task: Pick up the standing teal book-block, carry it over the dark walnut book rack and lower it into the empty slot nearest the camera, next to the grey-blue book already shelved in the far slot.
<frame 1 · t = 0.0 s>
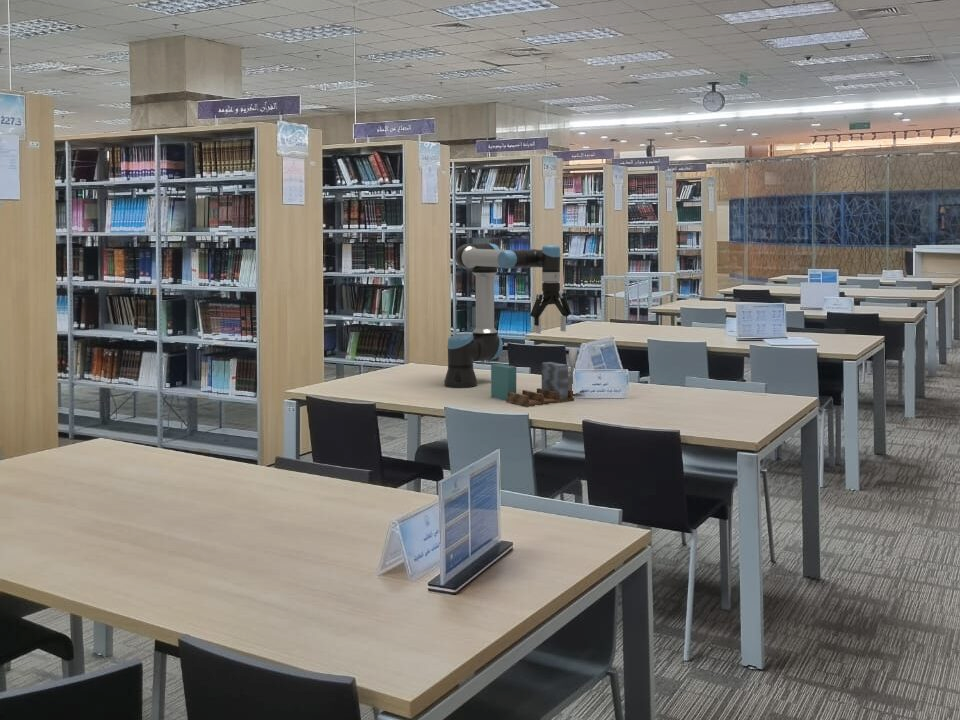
hand: (550, 332, 416), 28 cm above the table, fingers open, 13 cm apart
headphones: (573, 393, 429), on the table
book block: (503, 398, 418), on the table
rack: (540, 401, 410), on the table
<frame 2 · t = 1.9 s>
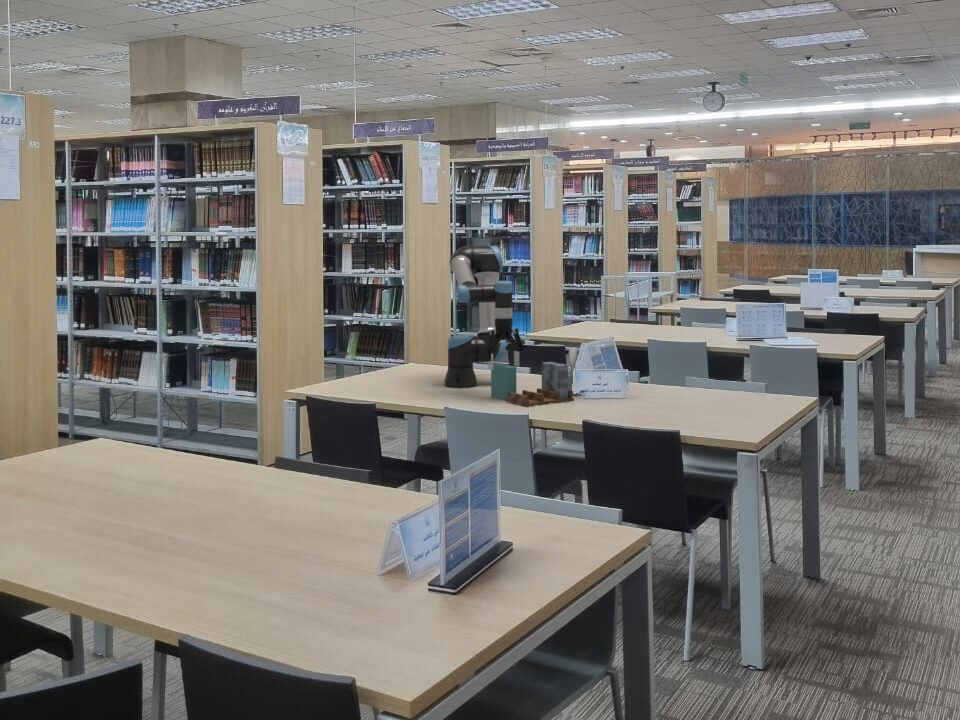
hand: (503, 367, 416), 13 cm above the table, fingers open, 13 cm apart
nothing on the table moved.
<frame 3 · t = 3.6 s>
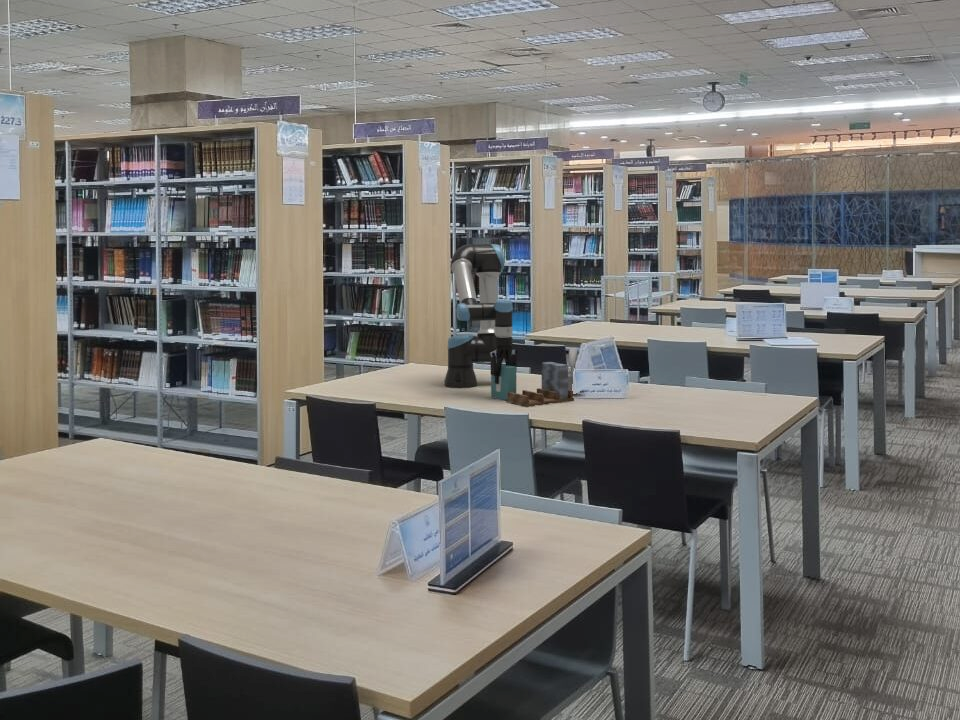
hand: (503, 390, 417), 3 cm above the table, fingers closed on book block, 4 cm apart
book block: (503, 398, 418), on the table, touching gripper
everything else where it was.
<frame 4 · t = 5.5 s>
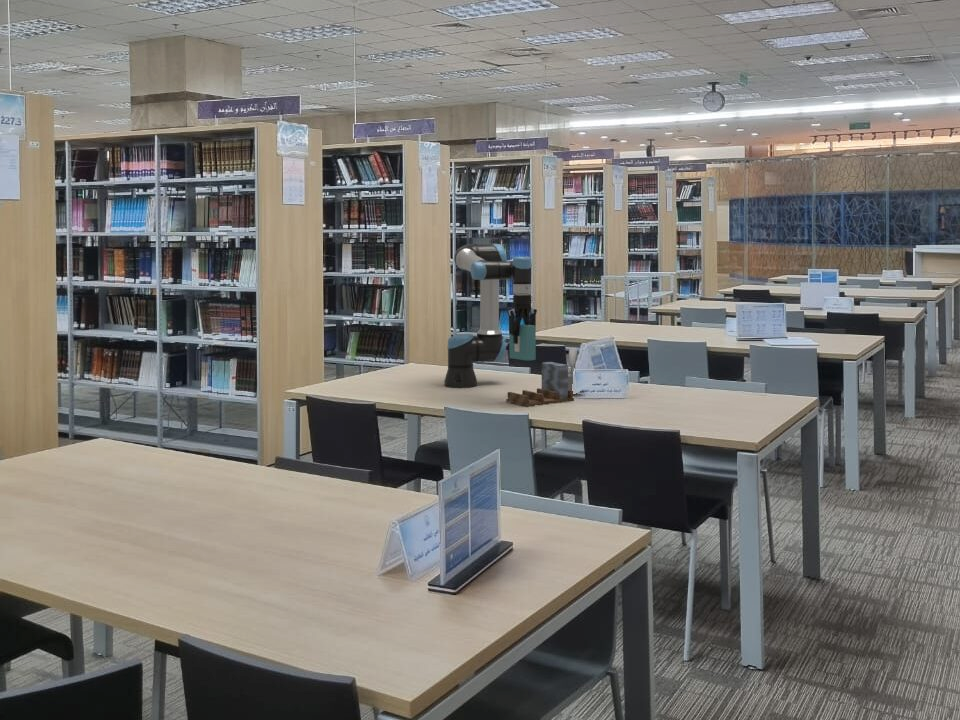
hand: (522, 351, 404), 22 cm above the table, fingers closed on book block, 4 cm apart
book block: (522, 358, 405), point 18 cm above the table, touching gripper
everything else where it was.
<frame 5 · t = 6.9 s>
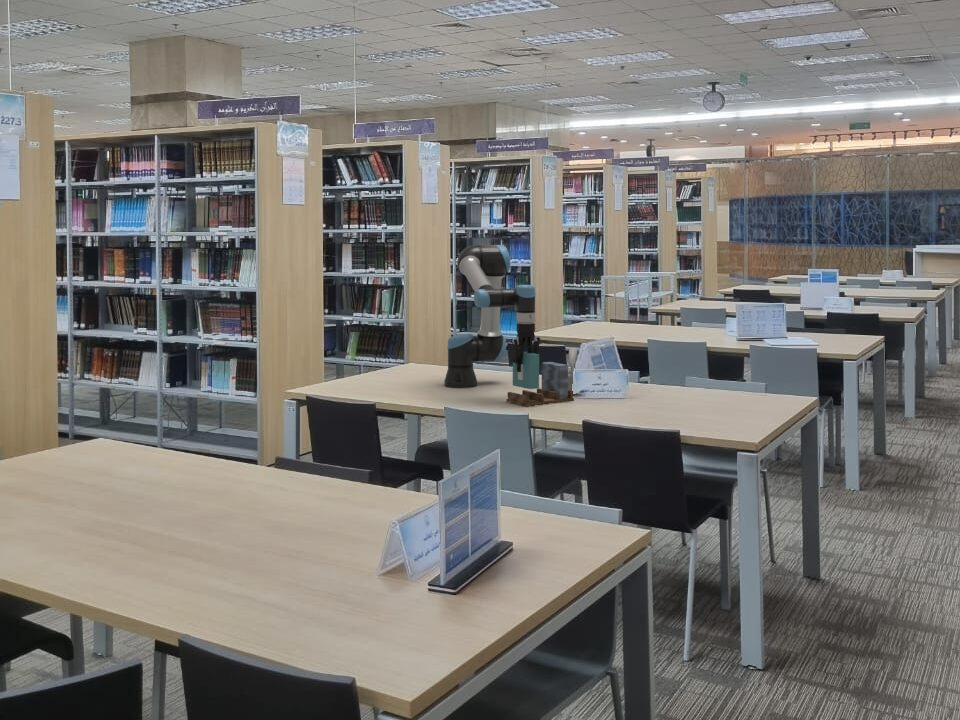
hand: (525, 379, 404), 10 cm above the table, fingers closed on book block, 4 cm apart
book block: (525, 386, 405), point 7 cm above the table, touching gripper
everything else where it was.
when the fingers open (6 cm above the table, at t = 7.9 s): book block drops 2 cm, resting on rack.
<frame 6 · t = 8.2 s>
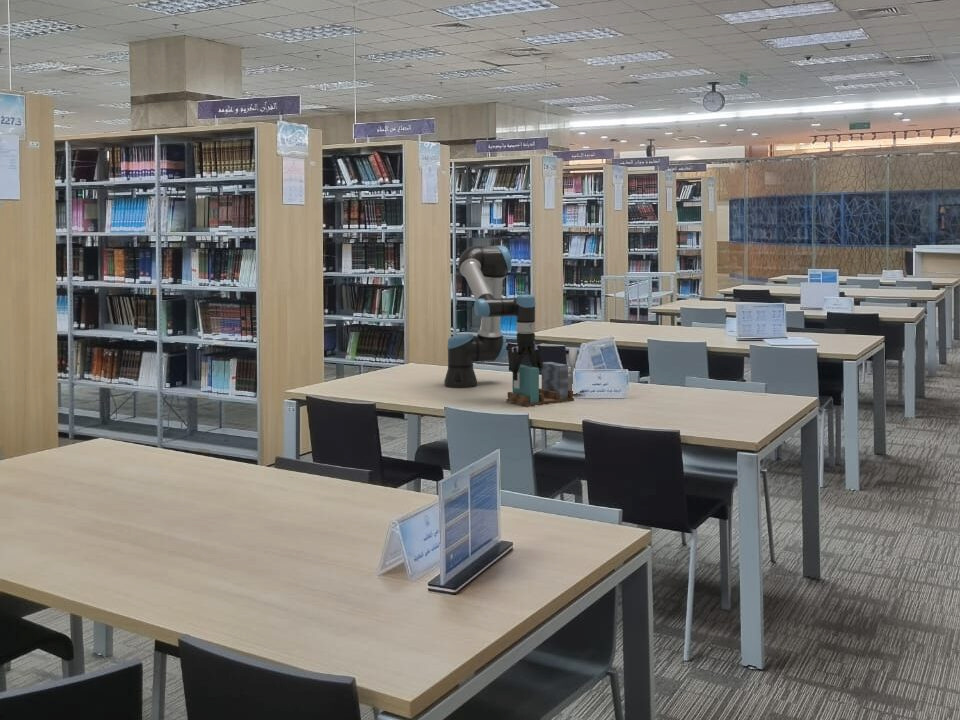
hand: (525, 386, 405), 7 cm above the table, fingers open, 8 cm apart
book block: (525, 400, 406), point 1 cm above the table, touching rack
everything else where it was.
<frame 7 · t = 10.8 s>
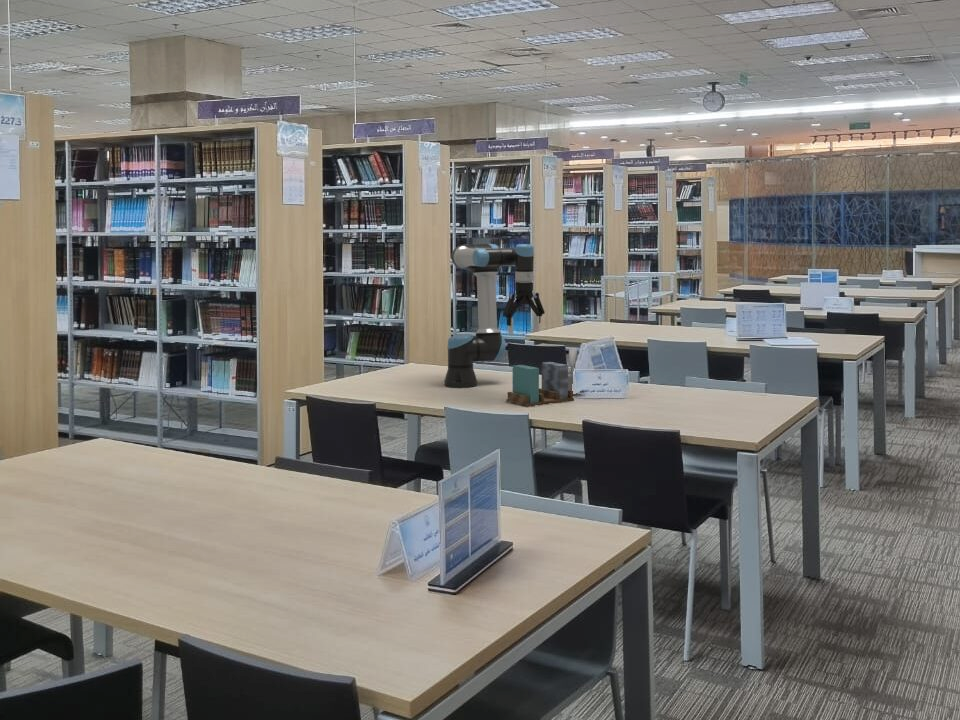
hand: (523, 332, 411), 28 cm above the table, fingers open, 13 cm apart
nothing on the table moved.
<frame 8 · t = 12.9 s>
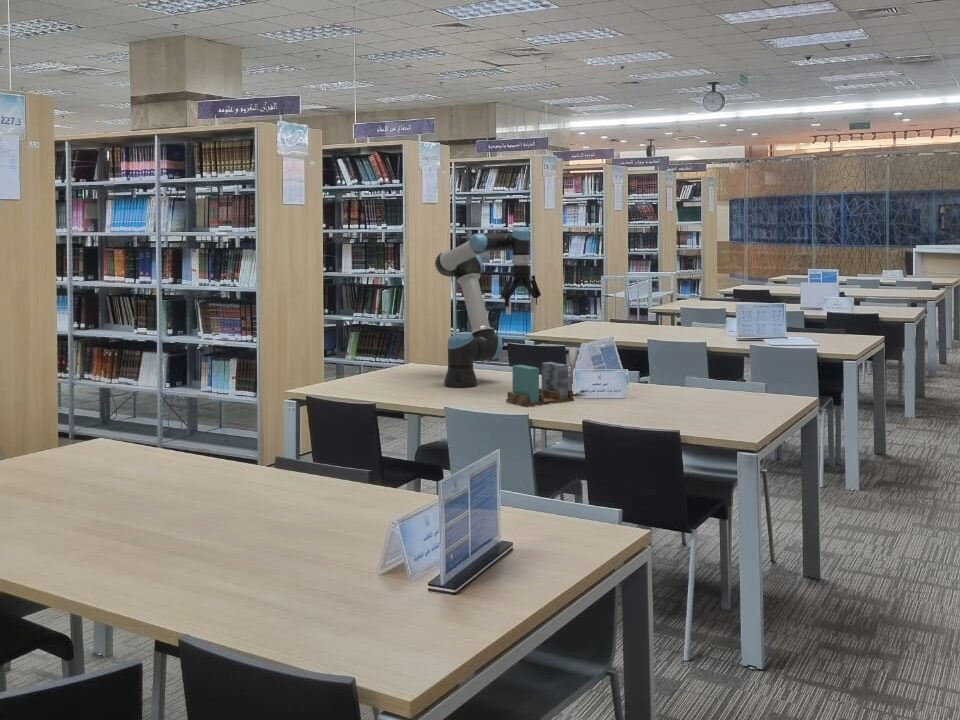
hand: (520, 313, 430), 35 cm above the table, fingers open, 13 cm apart
nothing on the table moved.
at the end: book block inside the target area on the rack (0.0 cm from its centre), point 1.2 cm above the rack's base; book block tilted 0°; the gripper is holding nothing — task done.
